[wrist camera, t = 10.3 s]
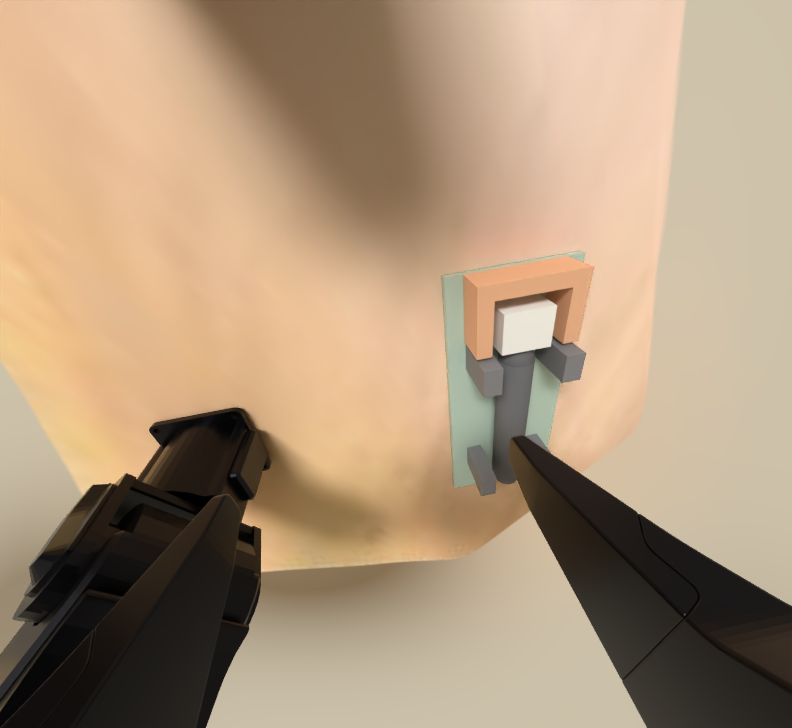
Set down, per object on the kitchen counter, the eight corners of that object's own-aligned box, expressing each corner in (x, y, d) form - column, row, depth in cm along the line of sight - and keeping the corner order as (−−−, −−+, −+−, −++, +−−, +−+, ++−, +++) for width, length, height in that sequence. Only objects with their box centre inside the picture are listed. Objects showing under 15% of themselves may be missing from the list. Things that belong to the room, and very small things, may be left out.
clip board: (453, 483, 30) (466, 522, 27) (441, 275, 19) (461, 297, 15) (540, 466, 30) (564, 502, 27) (580, 251, 19) (629, 267, 16)
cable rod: (483, 470, 29) (493, 492, 27) (488, 300, 20) (504, 315, 18) (515, 464, 29) (528, 485, 27) (536, 292, 20) (557, 305, 18)
